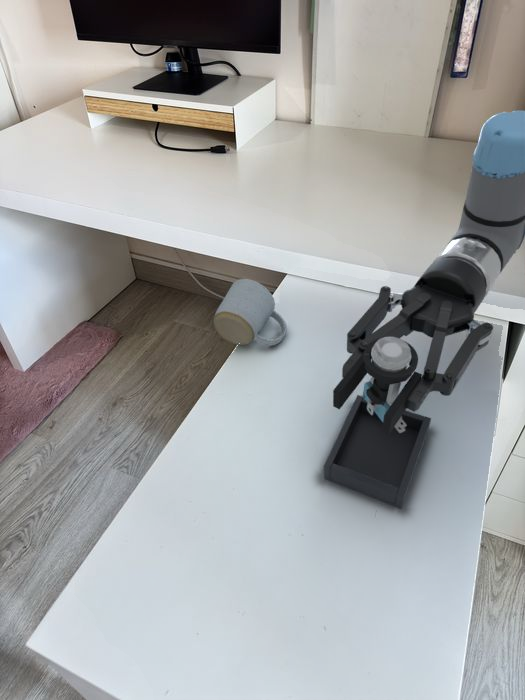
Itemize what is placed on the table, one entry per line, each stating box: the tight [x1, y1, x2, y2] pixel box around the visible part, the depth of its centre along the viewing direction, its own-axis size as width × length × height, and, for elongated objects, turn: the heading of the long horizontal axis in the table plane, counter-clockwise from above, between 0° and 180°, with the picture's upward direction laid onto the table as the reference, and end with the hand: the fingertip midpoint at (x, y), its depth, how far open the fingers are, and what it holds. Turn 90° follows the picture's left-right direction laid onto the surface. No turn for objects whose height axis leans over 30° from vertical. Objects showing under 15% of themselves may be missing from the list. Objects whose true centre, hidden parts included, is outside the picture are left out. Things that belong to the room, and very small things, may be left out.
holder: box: [323, 394, 432, 509], centre depth 62 cm, size 10×12×3 cm
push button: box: [361, 337, 419, 433], centre depth 53 cm, size 7×5×10 cm
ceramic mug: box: [213, 278, 288, 347], centre depth 78 cm, size 11×8×8 cm
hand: (360, 411), depth 50 cm, fingers closed on push button, 5 cm apart
